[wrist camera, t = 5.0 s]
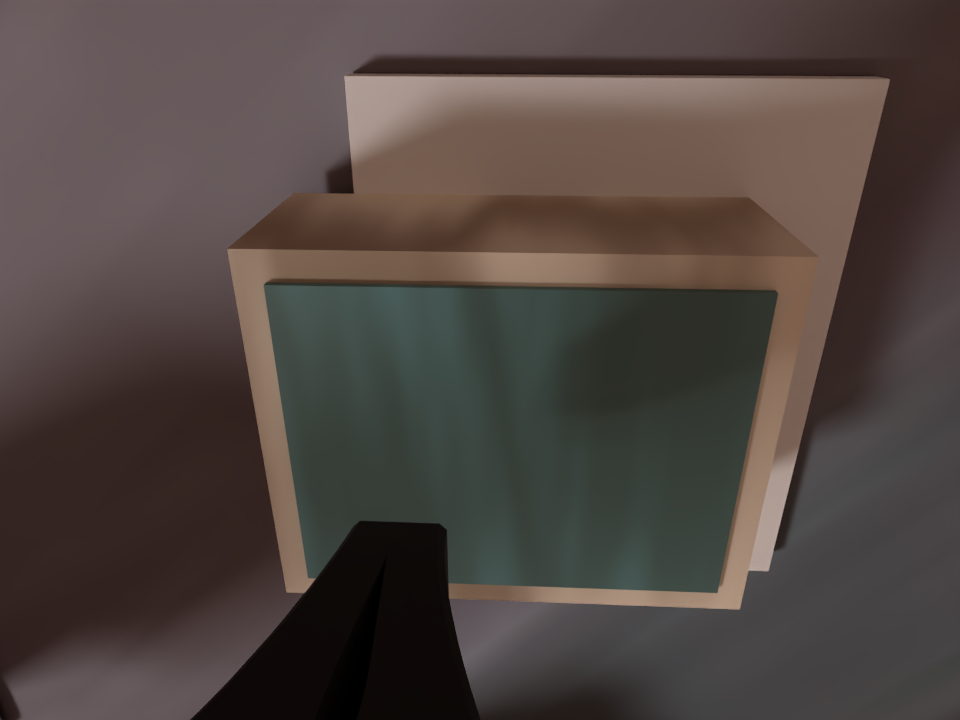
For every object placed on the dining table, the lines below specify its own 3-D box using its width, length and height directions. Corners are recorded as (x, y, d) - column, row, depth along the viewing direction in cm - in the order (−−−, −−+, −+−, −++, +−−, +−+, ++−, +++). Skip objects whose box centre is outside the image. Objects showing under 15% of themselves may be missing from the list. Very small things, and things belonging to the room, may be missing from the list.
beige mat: (386, 542, 21) (383, 556, 20) (350, 73, 15) (344, 75, 14) (762, 556, 20) (768, 571, 20) (876, 76, 15) (890, 78, 14)
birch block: (284, 597, 16) (741, 615, 15) (223, 251, 12) (822, 259, 11) (329, 483, 19) (698, 495, 19) (293, 193, 16) (749, 197, 15)
